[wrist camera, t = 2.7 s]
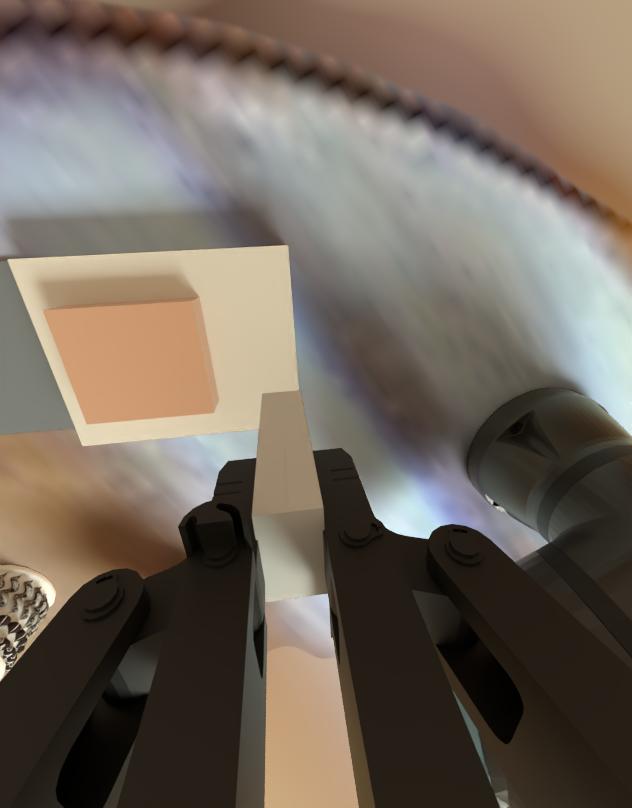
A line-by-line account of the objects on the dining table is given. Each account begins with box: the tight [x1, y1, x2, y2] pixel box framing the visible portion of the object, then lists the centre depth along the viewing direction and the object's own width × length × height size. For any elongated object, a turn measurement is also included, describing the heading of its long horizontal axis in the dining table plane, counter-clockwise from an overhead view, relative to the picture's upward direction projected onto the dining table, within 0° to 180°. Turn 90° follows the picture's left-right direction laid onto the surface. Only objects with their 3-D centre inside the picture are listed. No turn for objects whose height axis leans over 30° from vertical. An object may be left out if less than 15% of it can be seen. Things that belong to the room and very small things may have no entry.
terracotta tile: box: [43, 297, 219, 425], centre depth 23 cm, size 9×8×2 cm
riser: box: [7, 245, 299, 446], centre depth 26 cm, size 18×14×4 cm
